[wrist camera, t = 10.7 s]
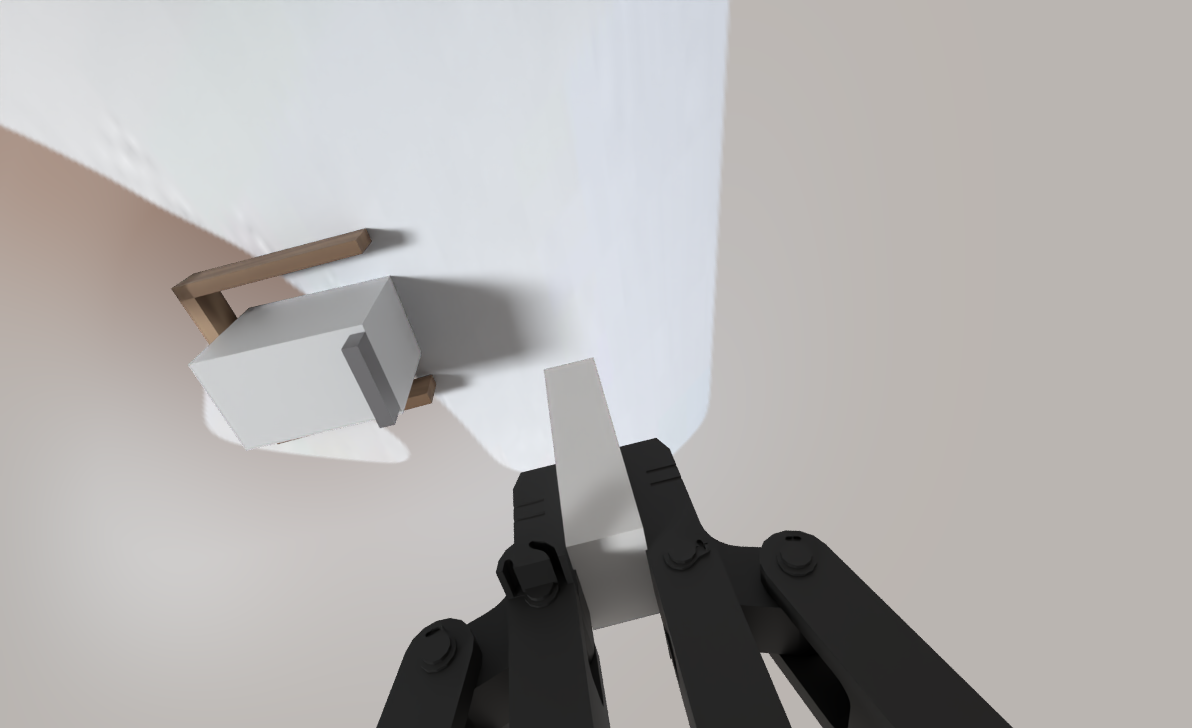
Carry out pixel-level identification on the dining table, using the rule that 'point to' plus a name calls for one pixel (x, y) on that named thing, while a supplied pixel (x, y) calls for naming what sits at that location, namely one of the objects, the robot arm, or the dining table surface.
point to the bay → (215, 312)
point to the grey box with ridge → (312, 364)
